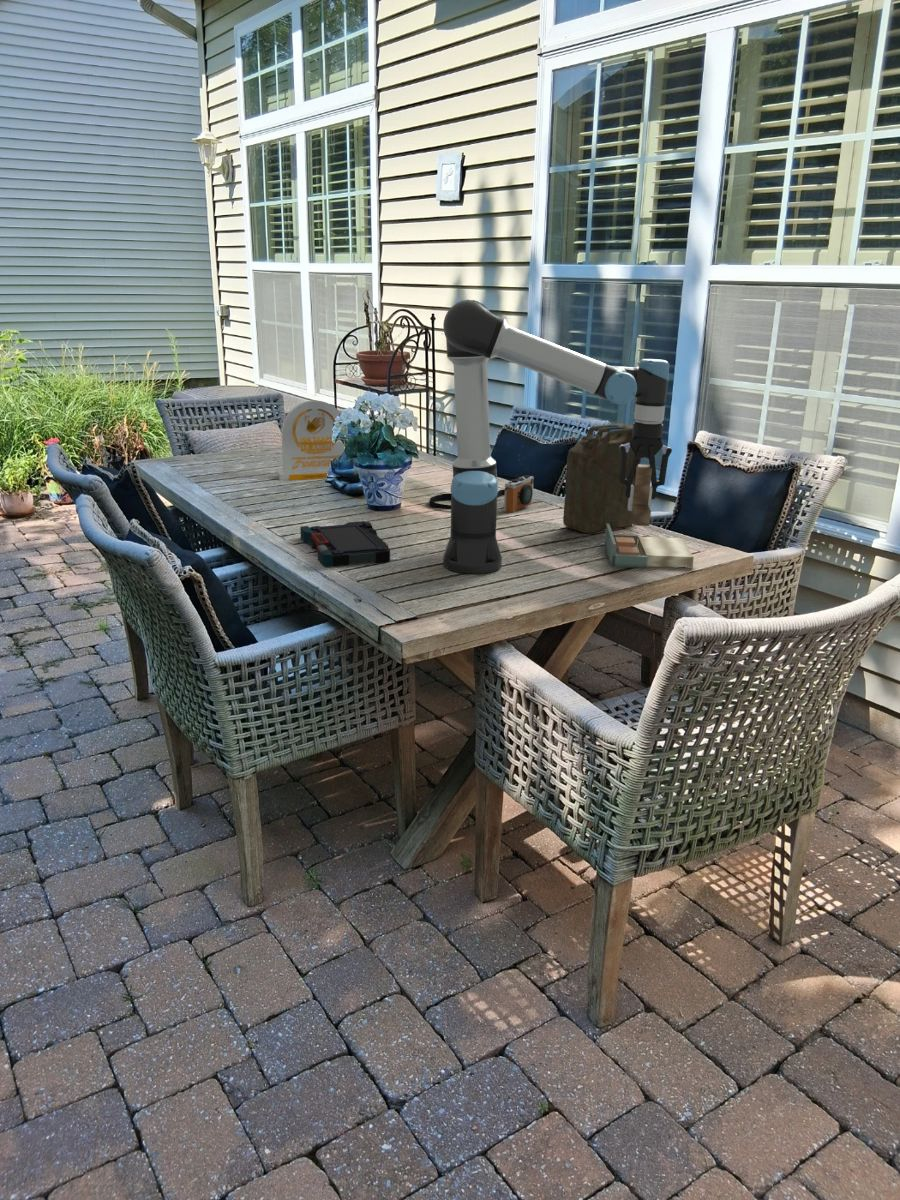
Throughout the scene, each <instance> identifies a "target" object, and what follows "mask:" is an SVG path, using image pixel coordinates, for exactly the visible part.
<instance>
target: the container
mask: <svg viewBox="0 0 900 1200" xmlns="http://www.w3.org/2000/svg"><path fill="white" fill-rule="evenodd" d="M595 431H597V432H596V434H595V435H594V432H595ZM632 432H633V424H632V425H631V424H625V423H621V422H619V423H609V424H602V425H595V426H593V425H592V426H591V427H589V428H588V431H587V433H586V435H585V436H582V437H581V438H580V440H579V441H578V442H576V443H575V445H574V446H573V447H571V448H570V449H569V450H568V453H567V457H566V474H565V485H564V486H565V487H564V489H565V497H564V504H563V517H562V522H563V525H564V526H565V527H567V528H569V529H571V530H575V531H577V532H579V531H580V532H579V533H582V534H583V533H584V534H590V533H596V532H601V531H606V530H605V529H606V524H610V527H611V530H613V529H619V528H621V529H622V528H627V527H630V526H633V523H632V520H631V518H630V516H629V514H628V511H627V506H628V498H626V496H625V491H626V485H625V484H623V483H621V482H620V466H621V451H620V447H619V446H620V445H621V444H623V445H625V444H627V443H629V442H630V440H631V438H632ZM603 433H606V434H605V435H604V436H603ZM634 455H635V453H634V452H633V450H632V448H631V447H630V448H629V451H628V452H627V461H626V476H625V479H627V478H628V475H629V471H630V468H631V465H632V462H633V459H634ZM641 461H642V458H640V461H639V464H641ZM632 485H633V482H632Z"/></svg>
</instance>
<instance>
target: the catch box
mask: <svg viewBox="0 0 900 1200" xmlns="http://www.w3.org/2000/svg"><path fill="white" fill-rule="evenodd" d="M612 530H613V529H611V527H610V524H606V530H605V536H604V547H605V550H606V553H608V554H607V557H608V560H609V563H610V566H613V567H616V568H617V567H618V568H636V569H637V568H640V569H647V568H648V566H647V556H642V554H641V551H640V549H639V547H638V537H639V535H638V534H618V533H616V534H615V533H613V531H612ZM615 537H628V538H634V540H635V547H637V548H638V550H639V556H635V555H618V551H616V542H615Z"/></svg>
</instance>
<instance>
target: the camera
mask: <svg viewBox="0 0 900 1200" xmlns="http://www.w3.org/2000/svg"><path fill="white" fill-rule="evenodd" d="M497 478H504V479H508V480H509V481H507V482H506V483H504V489H500V490H498V494H497V499H498V498H500V497H503V496H504V504H503V505H504V507H503V512H505V513H510V514H512V513H516V512H518V511H520V510H522V509H524V508H527V507H529V506H532V505H533V502H534V478H535V477H534V475H533V476H532V475H529V474H528V475H523V476H513V475H512V476H511V475H508V476H506V475H498V474H497ZM428 500H429V501H428V506H429V507H430V508H433V509H439V510H440V509H441V510H451V504H446V503H445V504H444V503H439V502H442V501H451V492H449V493H440V494H437V495H433V496H432V497H430V498H429V499H428Z"/></svg>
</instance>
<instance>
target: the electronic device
mask: <svg viewBox="0 0 900 1200" xmlns="http://www.w3.org/2000/svg"><path fill="white" fill-rule="evenodd" d="M299 533H300V540H302V542H303V543H305V544H308V545H309V547H311V550H314V551H315V552H316V553H317V560H318V562H319V564H321V566H323V567H325V568H331V567H341V566H350V565H353V564H354V565H355V564H364V563H386V562H390V561H391V549H390V548H389V545H388V544H387V543H386V542H385V541H384V540H383V539H382V538H381V537H380V536H379V535H378V532H377V530H376V529H375V528H374V527H373V525H372V524H371V522H370V521H367V522H366V521H363V520H362V521H350V522H347V523H344V524H336V525H335V524H334V525H324V526H323V525H322V526H319V525H316V526H313V525H312V526H310V527H309V526H308V525H305V526H300V532H299Z"/></svg>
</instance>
